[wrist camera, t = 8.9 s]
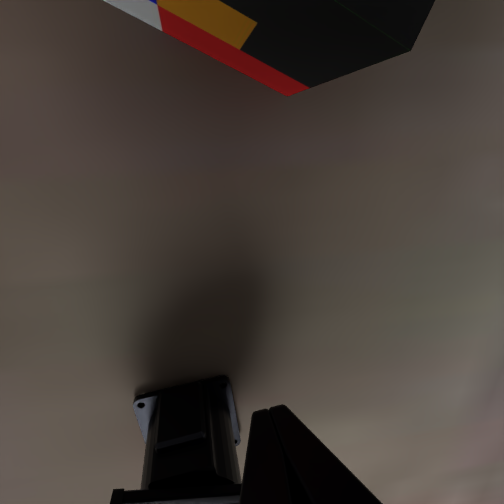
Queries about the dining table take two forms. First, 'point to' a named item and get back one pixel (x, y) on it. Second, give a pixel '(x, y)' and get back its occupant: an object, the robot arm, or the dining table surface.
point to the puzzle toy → (289, 34)
